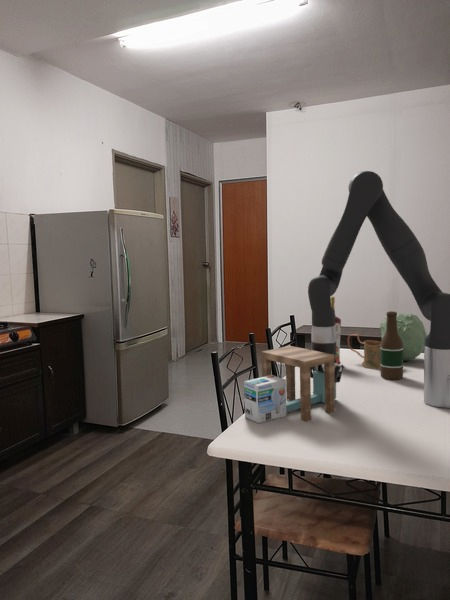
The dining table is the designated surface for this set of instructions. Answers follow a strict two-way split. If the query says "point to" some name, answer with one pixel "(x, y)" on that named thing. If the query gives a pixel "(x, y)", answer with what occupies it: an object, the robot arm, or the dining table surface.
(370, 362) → the mug
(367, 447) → the dining table surface
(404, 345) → the cabbage
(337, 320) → the liquor
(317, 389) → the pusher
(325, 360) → the bench
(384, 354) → the beer bottle
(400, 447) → the dining table surface
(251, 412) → the light bulb box
